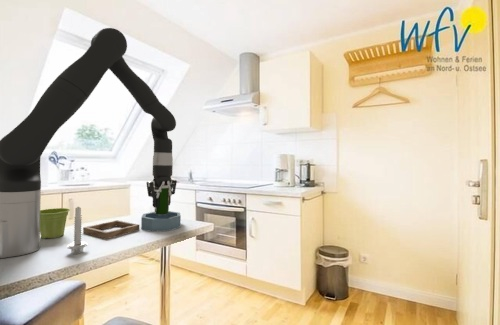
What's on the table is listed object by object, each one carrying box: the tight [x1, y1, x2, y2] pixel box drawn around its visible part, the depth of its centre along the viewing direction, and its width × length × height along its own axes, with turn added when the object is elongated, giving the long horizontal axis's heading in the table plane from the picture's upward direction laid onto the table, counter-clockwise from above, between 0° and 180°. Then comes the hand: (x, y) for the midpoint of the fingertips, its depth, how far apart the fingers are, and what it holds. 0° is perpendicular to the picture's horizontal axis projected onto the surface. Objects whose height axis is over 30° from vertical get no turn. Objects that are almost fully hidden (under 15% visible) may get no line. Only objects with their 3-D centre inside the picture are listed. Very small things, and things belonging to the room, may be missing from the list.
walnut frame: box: [82, 220, 140, 240], centre depth 94 cm, size 13×13×2 cm
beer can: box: [154, 185, 170, 216], centre depth 103 cm, size 5×5×12 cm
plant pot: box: [40, 207, 71, 240], centre depth 86 cm, size 9×9×9 cm
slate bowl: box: [140, 210, 182, 232], centre depth 103 cm, size 14×14×4 cm
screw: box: [66, 206, 89, 255], centre depth 73 cm, size 13×5×5 cm
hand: (161, 206), depth 103 cm, fingers closed on beer can, 5 cm apart
